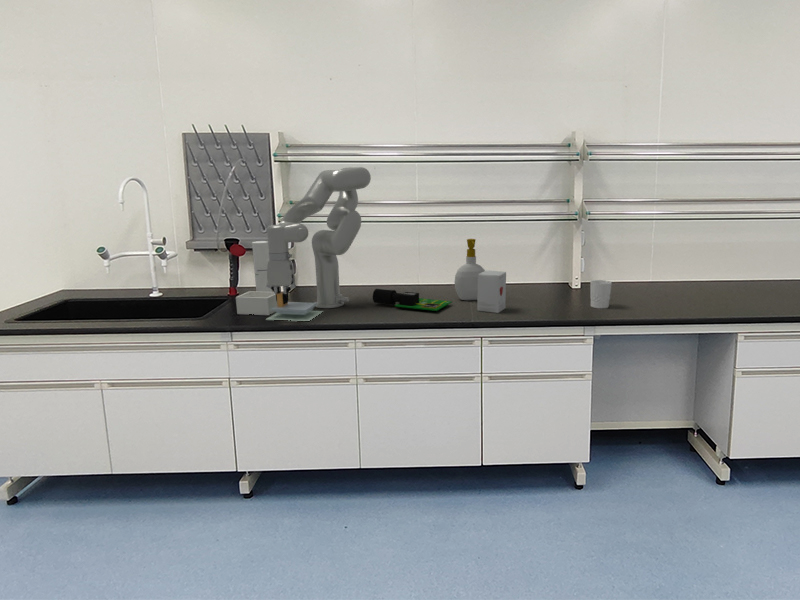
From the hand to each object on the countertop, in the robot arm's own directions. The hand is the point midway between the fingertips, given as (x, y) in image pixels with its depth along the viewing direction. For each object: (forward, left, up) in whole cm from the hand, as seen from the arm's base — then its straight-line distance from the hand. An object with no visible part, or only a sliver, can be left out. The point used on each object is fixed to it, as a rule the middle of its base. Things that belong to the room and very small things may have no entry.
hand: (282, 302), depth 219 cm
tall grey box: (+24, -31, -5) cm, 40 cm away
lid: (-5, 0, -3) cm, 6 cm away
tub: (+13, -5, -5) cm, 15 cm away
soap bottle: (-70, -37, -5) cm, 79 cm away
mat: (-5, 0, -5) cm, 7 cm away
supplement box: (-80, -21, -5) cm, 83 cm away
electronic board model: (-47, -23, -5) cm, 52 cm away
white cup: (-122, -32, -5) cm, 126 cm away
